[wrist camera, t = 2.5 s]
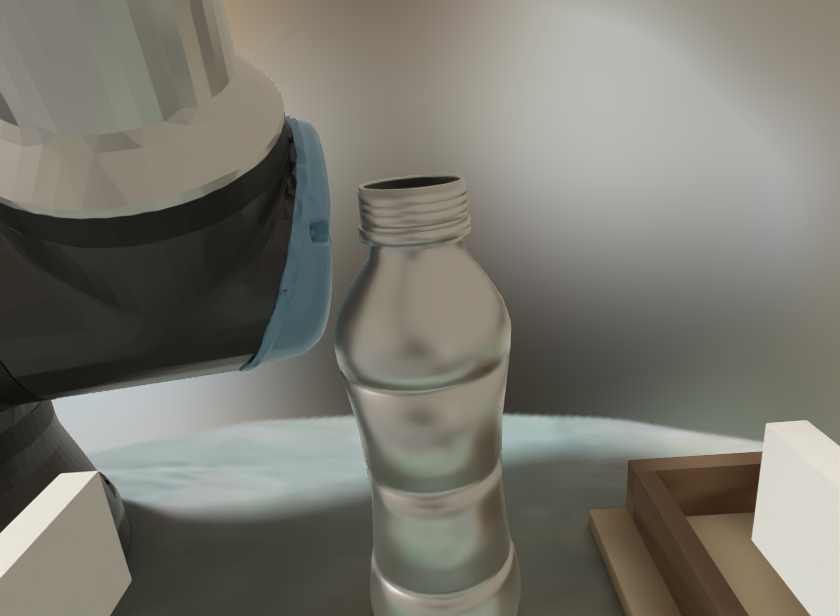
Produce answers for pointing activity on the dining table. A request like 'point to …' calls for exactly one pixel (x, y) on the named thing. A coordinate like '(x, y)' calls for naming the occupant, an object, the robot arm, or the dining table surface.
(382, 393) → the plastic bottle
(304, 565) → the dining table surface
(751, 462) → the open wooden box
